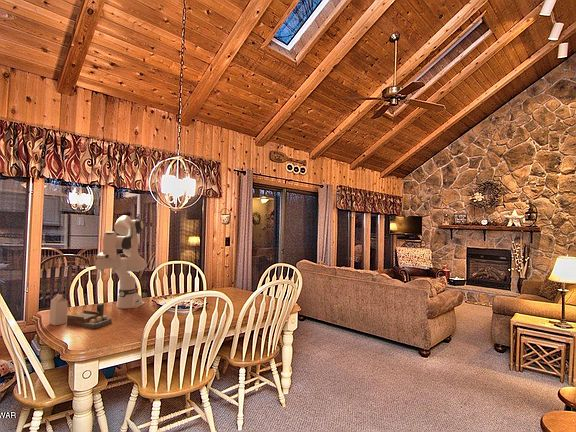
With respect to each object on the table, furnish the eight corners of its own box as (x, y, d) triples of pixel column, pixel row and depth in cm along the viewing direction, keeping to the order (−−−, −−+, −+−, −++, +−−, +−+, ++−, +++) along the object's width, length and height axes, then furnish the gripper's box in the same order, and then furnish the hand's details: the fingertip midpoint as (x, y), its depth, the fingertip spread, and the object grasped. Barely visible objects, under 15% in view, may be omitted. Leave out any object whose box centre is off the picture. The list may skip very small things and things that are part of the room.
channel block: (84, 319, 236) (84, 310, 236) (98, 321, 233) (99, 311, 233) (66, 325, 223) (67, 315, 223) (81, 327, 220) (82, 317, 220)
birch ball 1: (97, 324, 224) (91, 324, 225) (97, 318, 224) (92, 318, 225) (92, 326, 220) (87, 325, 221) (93, 320, 220) (87, 319, 221)
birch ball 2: (104, 321, 230) (99, 321, 231) (103, 315, 230) (98, 316, 231) (99, 323, 226) (94, 323, 227) (98, 317, 226) (93, 317, 227)
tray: (98, 321, 233) (99, 317, 233) (111, 323, 231) (111, 318, 231) (81, 327, 220) (82, 322, 220) (94, 329, 217) (95, 324, 217)
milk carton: (61, 321, 230) (62, 292, 231) (66, 323, 227) (68, 294, 227) (49, 323, 224) (50, 294, 225) (54, 325, 221) (56, 296, 221)
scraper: (92, 318, 240) (93, 303, 240) (95, 317, 243) (96, 302, 243) (103, 319, 238) (104, 305, 238) (107, 318, 240) (107, 304, 241)
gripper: (116, 253, 251) (115, 272, 251) (94, 255, 232) (93, 276, 231) (123, 253, 250) (122, 272, 250) (102, 256, 230) (101, 277, 230)
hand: (108, 274), depth 240 cm, fingers open, 8 cm apart
